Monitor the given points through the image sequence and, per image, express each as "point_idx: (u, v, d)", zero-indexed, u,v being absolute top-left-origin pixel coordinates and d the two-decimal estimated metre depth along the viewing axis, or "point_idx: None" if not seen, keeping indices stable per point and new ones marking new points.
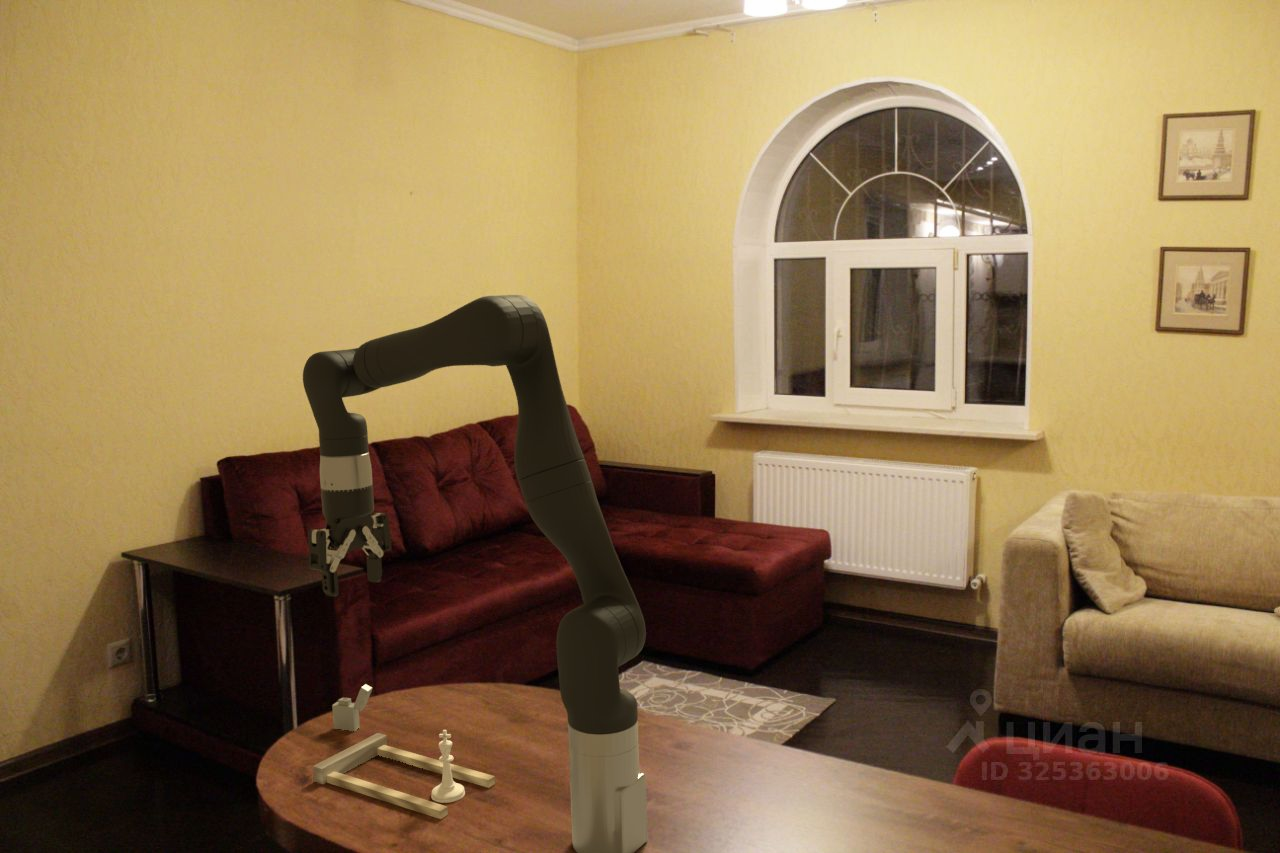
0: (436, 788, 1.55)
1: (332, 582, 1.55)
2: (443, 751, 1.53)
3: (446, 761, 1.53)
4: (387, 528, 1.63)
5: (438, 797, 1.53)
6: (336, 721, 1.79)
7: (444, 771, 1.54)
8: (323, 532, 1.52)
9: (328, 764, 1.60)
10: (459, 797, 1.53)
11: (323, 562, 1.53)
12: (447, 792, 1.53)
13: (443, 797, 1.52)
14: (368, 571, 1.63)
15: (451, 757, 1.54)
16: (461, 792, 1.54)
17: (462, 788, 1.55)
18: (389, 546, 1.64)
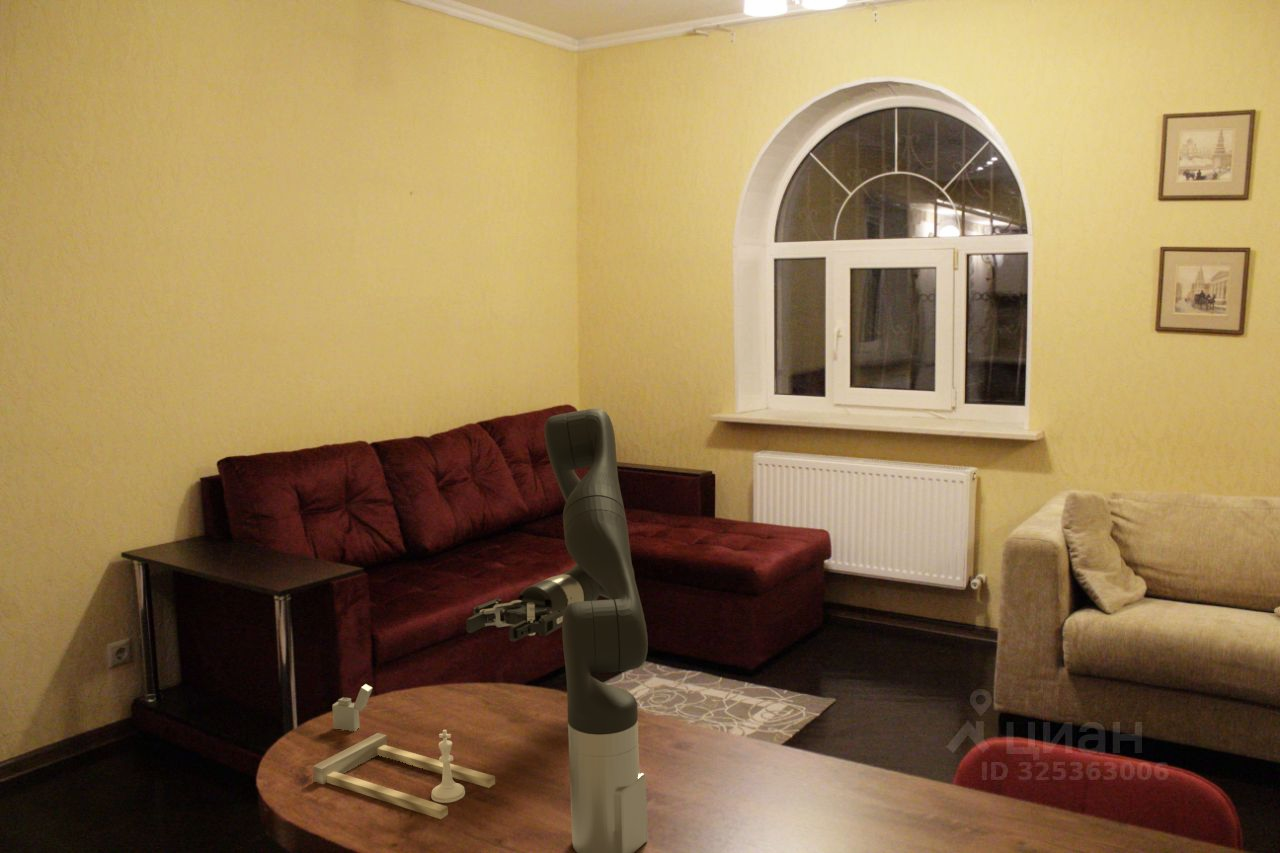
0: (436, 788, 1.55)
1: None
2: (443, 751, 1.53)
3: (446, 761, 1.53)
4: (554, 614, 1.65)
5: (438, 797, 1.53)
6: (336, 721, 1.79)
7: (444, 771, 1.54)
8: (499, 599, 1.73)
9: (328, 764, 1.60)
10: (459, 797, 1.53)
11: (480, 606, 1.69)
12: (447, 792, 1.53)
13: (443, 797, 1.52)
14: None
15: (451, 757, 1.54)
16: (461, 792, 1.54)
17: (462, 788, 1.55)
18: (543, 618, 1.62)
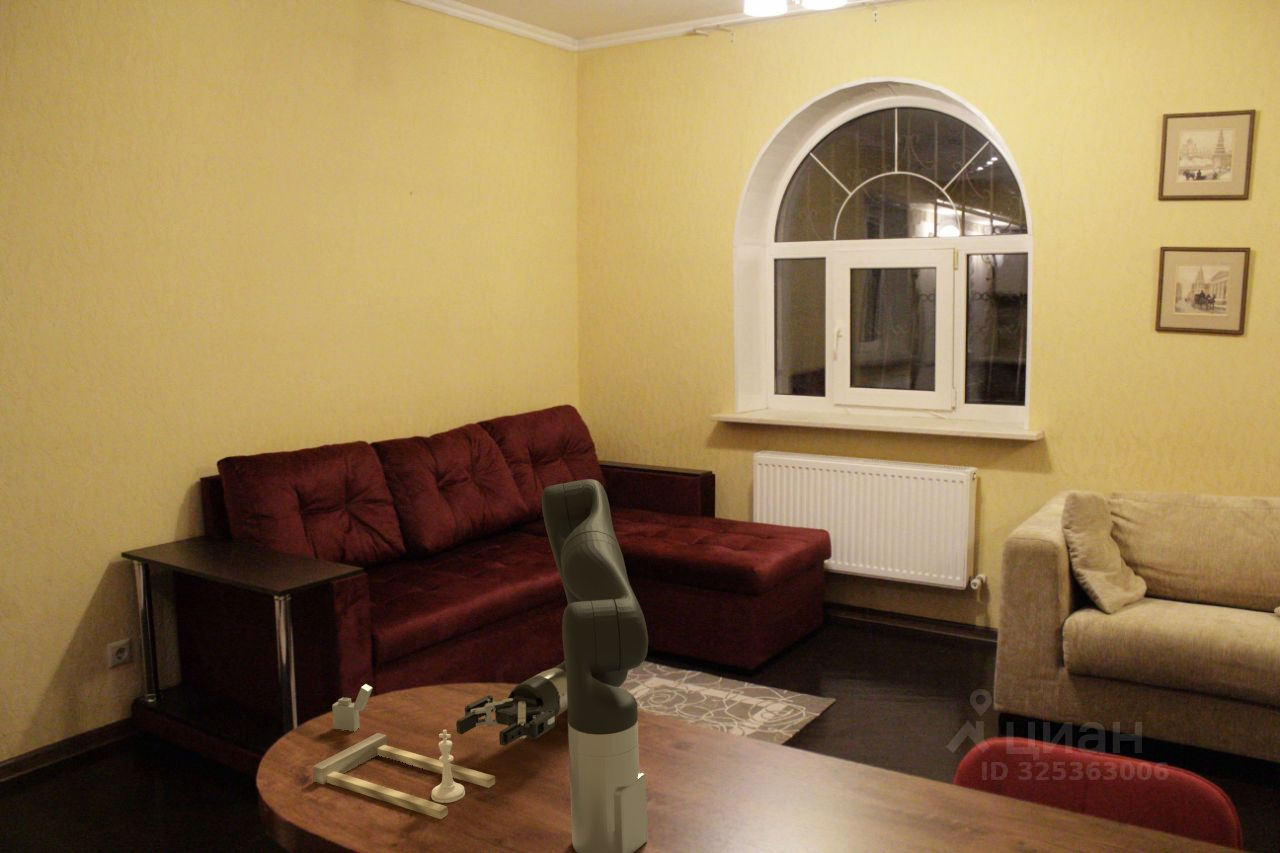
0: (436, 788, 1.55)
1: None
2: (443, 751, 1.53)
3: (446, 761, 1.53)
4: (545, 715, 1.63)
5: (438, 797, 1.53)
6: (336, 721, 1.79)
7: (444, 771, 1.54)
8: (490, 695, 1.72)
9: (328, 764, 1.60)
10: (459, 797, 1.53)
11: (471, 705, 1.68)
12: (447, 792, 1.53)
13: (443, 797, 1.52)
14: None
15: (451, 757, 1.54)
16: (461, 792, 1.54)
17: (462, 788, 1.55)
18: (533, 721, 1.61)
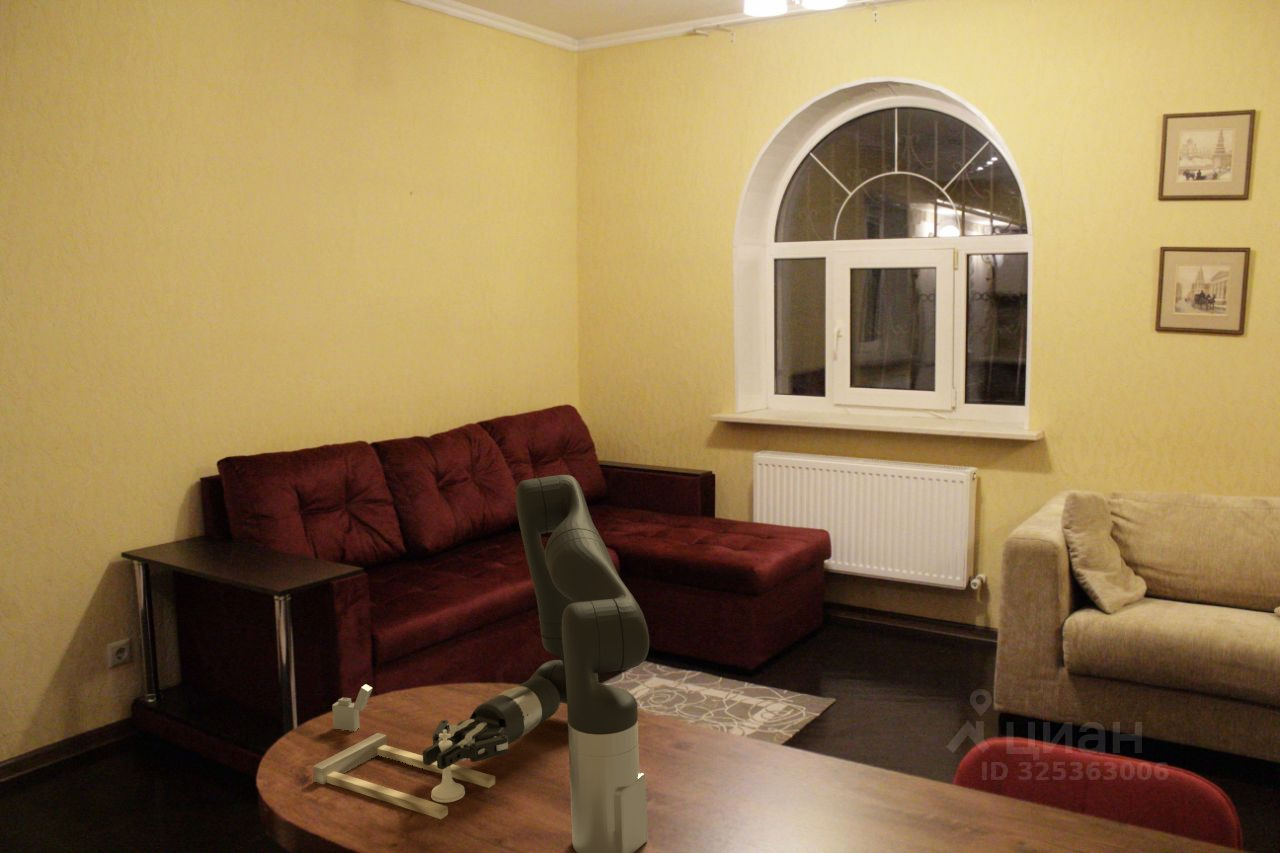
0: (436, 788, 1.55)
1: None
2: None
3: None
4: (493, 740, 1.55)
5: (438, 797, 1.53)
6: (336, 721, 1.79)
7: (444, 771, 1.54)
8: (445, 720, 1.62)
9: (328, 764, 1.60)
10: (459, 797, 1.53)
11: (439, 733, 1.58)
12: (447, 791, 1.53)
13: (443, 797, 1.52)
14: None
15: None
16: (461, 792, 1.54)
17: (462, 788, 1.55)
18: (473, 743, 1.54)
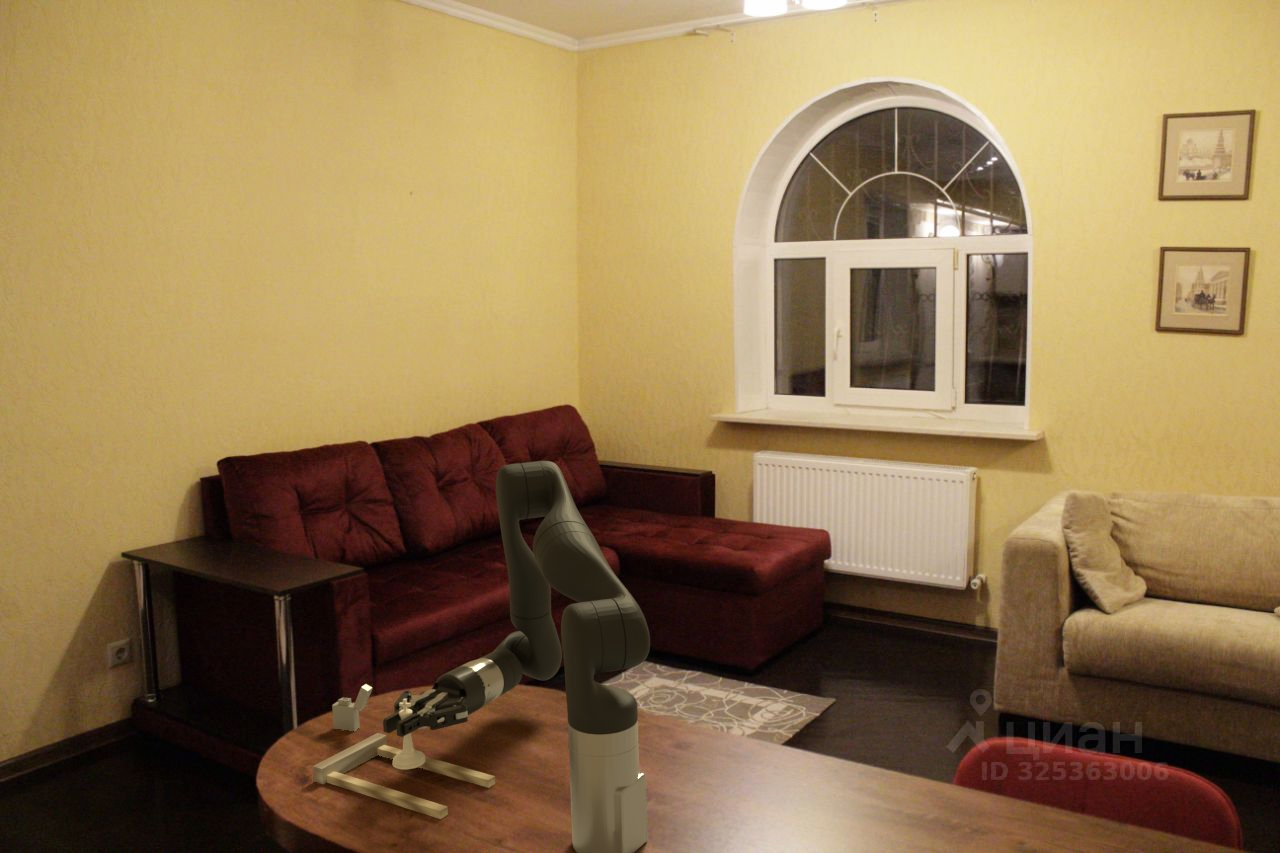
0: (397, 755, 1.59)
1: None
2: None
3: None
4: (452, 708, 1.59)
5: (398, 764, 1.57)
6: (336, 721, 1.79)
7: (404, 739, 1.58)
8: (407, 690, 1.66)
9: (328, 764, 1.60)
10: (419, 764, 1.57)
11: None
12: (407, 759, 1.57)
13: (403, 764, 1.56)
14: None
15: None
16: (421, 759, 1.58)
17: (422, 755, 1.59)
18: (433, 712, 1.57)
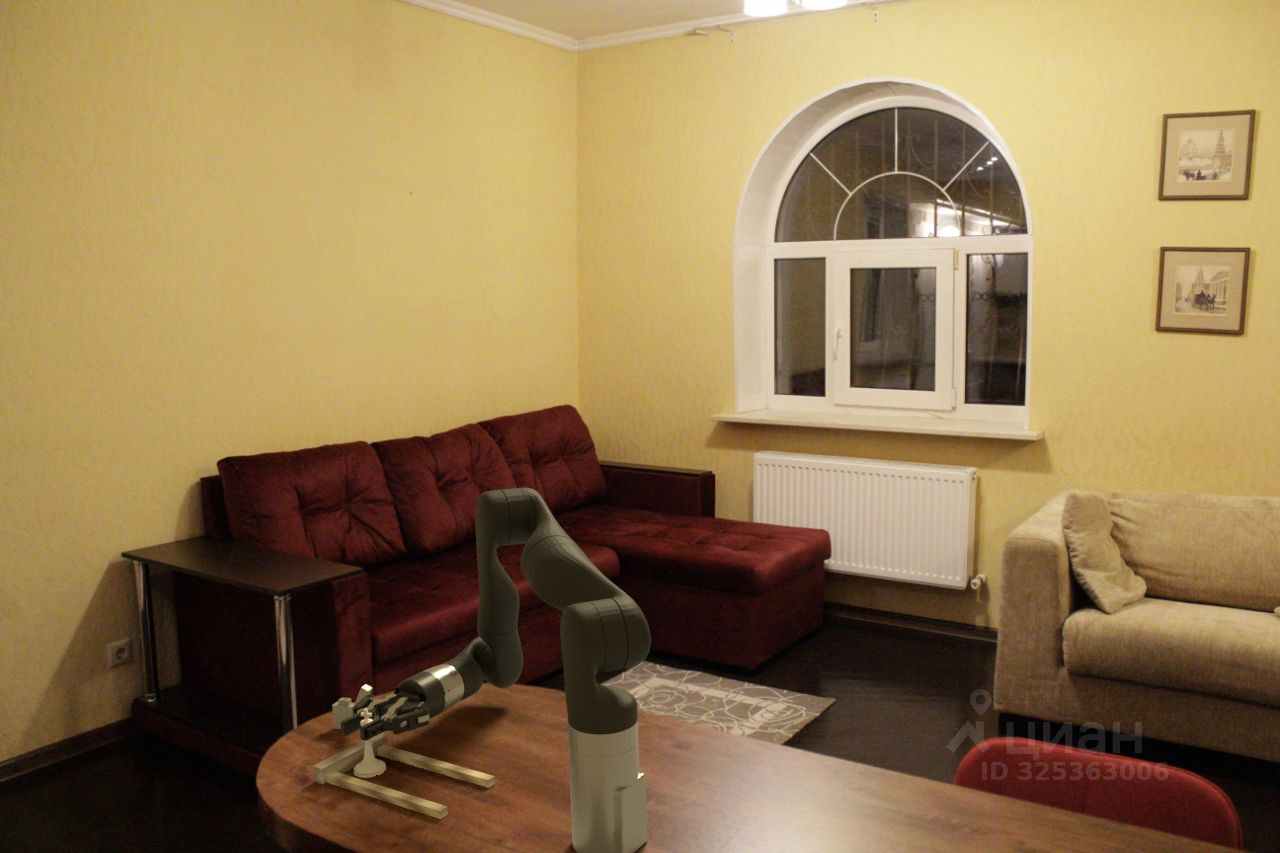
0: (358, 764, 1.63)
1: None
2: None
3: None
4: (414, 712, 1.63)
5: (359, 772, 1.61)
6: (336, 721, 1.79)
7: (365, 748, 1.62)
8: (370, 694, 1.71)
9: (328, 764, 1.60)
10: (379, 772, 1.62)
11: (359, 705, 1.67)
12: (368, 767, 1.62)
13: (364, 773, 1.61)
14: None
15: None
16: (382, 768, 1.62)
17: (383, 764, 1.63)
18: (396, 716, 1.62)
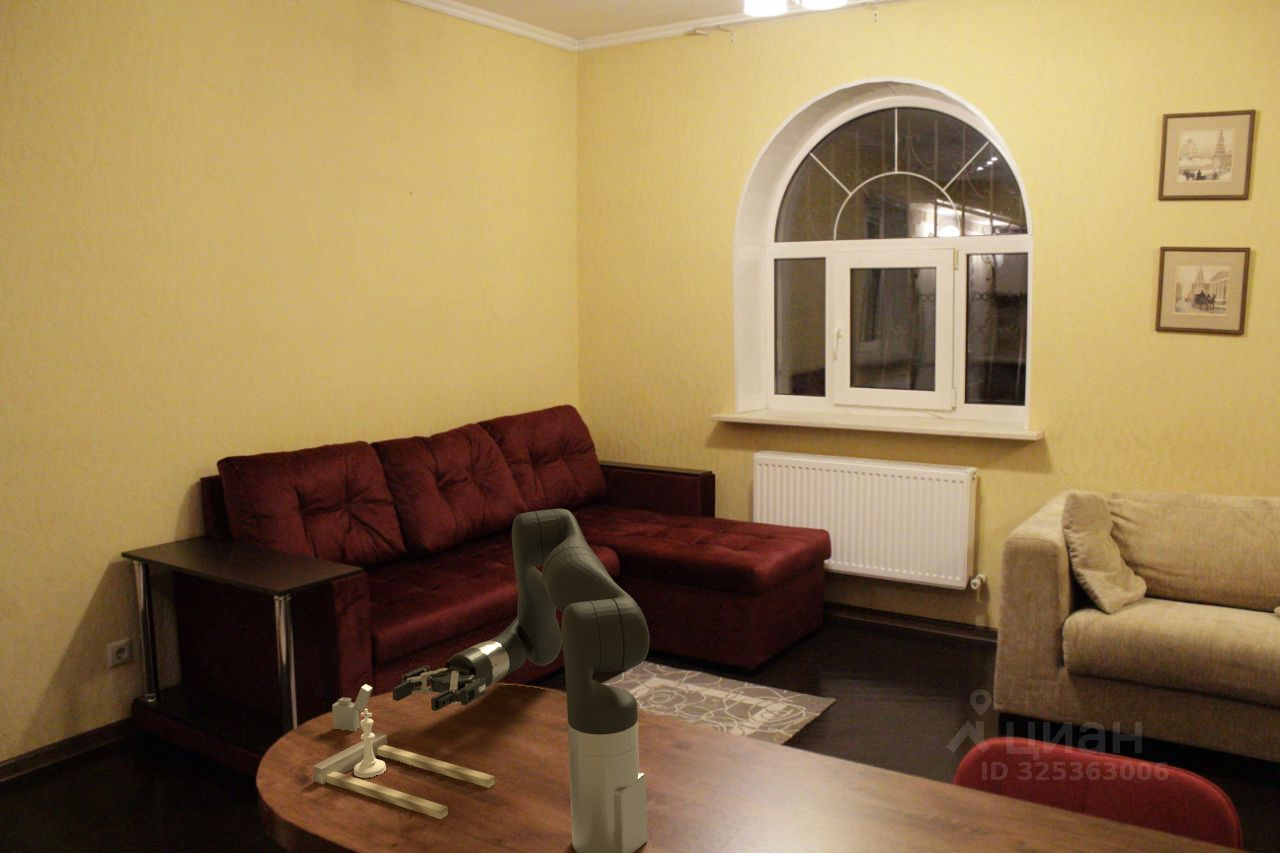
0: (358, 764, 1.63)
1: None
2: (364, 729, 1.62)
3: (367, 738, 1.62)
4: (475, 683, 1.74)
5: (359, 772, 1.61)
6: (336, 721, 1.79)
7: (365, 748, 1.62)
8: (427, 666, 1.83)
9: (328, 764, 1.60)
10: (379, 772, 1.62)
11: (408, 674, 1.79)
12: (368, 767, 1.62)
13: (364, 773, 1.61)
14: None
15: (372, 735, 1.62)
16: (382, 768, 1.62)
17: (383, 764, 1.63)
18: (464, 688, 1.72)
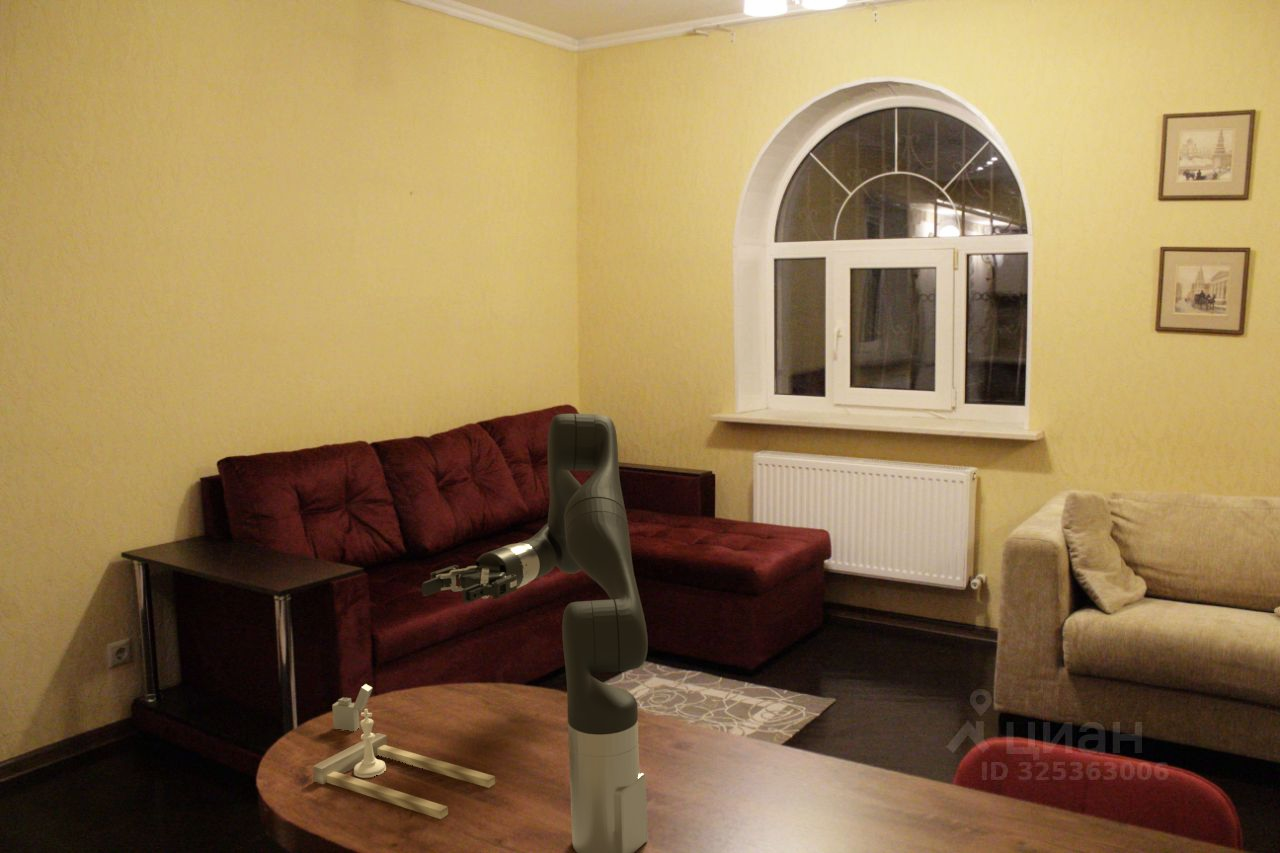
0: (358, 764, 1.63)
1: None
2: (364, 729, 1.62)
3: (367, 738, 1.62)
4: (507, 578, 1.70)
5: (359, 772, 1.61)
6: (336, 721, 1.79)
7: (365, 748, 1.62)
8: None
9: (328, 764, 1.60)
10: (379, 772, 1.62)
11: (437, 572, 1.75)
12: (368, 767, 1.62)
13: (364, 773, 1.61)
14: None
15: (372, 735, 1.62)
16: (382, 768, 1.62)
17: (383, 764, 1.63)
18: (495, 582, 1.67)
